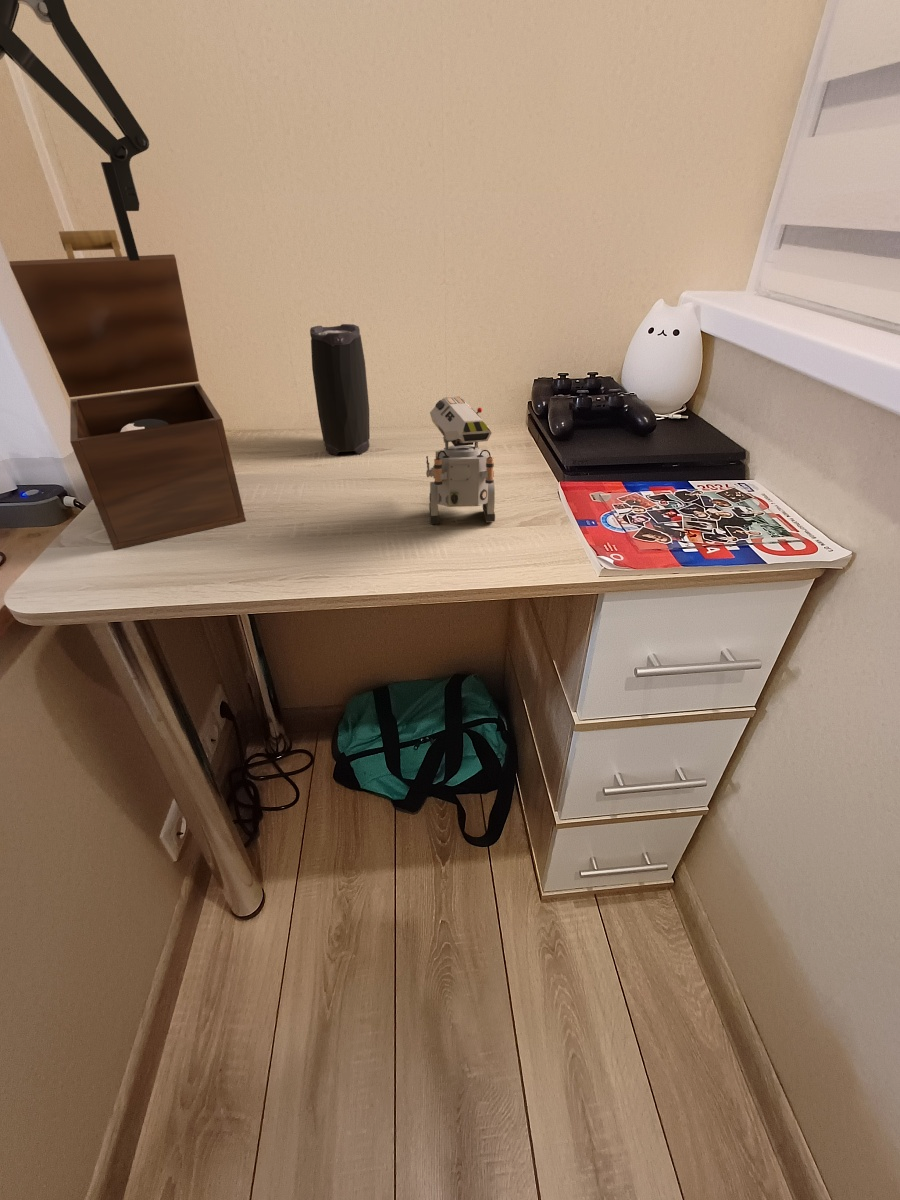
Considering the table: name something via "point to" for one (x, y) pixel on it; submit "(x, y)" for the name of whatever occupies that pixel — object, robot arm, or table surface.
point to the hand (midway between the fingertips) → (41, 263)
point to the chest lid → (109, 316)
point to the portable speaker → (341, 387)
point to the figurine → (461, 460)
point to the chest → (155, 463)
